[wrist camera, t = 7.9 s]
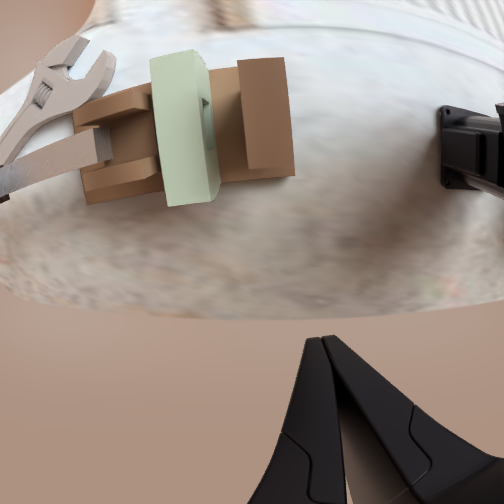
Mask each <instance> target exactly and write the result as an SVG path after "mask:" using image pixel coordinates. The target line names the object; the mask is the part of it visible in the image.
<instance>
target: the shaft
mask: <svg viewBox="0 0 504 504" xmlns="http://www.w3.org/2000/svg"><path fill="white" fill-rule="evenodd" d="M110 159H114V158H113V151H112V145H111V138H110V130H109V127H106V128H92V129H89V130H86V131H83V132H80V133H78V134H75V135H72V136H70V137H67V138H64V139H62V140H59V141H57V142H55V143H52V144H50V145H47V146H45V147H43V148H41V149H38V150H36V151H34V152H32V153H30V154H27V155H25V156H23V157H21V158H19V159H17V160H15V161H13V162H11V163H9V164H8V165H6V166H3V165H0V204H1V203H3V202H5V201H7V200H9V199H10V198H9V193H11V192H14V191H16V190H19V189H21V188H24V187H26V186H29V185H31V184H34V183H37V182H40V181H42V180H45V179H48V178H51V177H54V176H57V175H60V174H63V173H66V172H69V171H72V170H75V169H78V168H82V167H85V166H89V165H92V164H96V163H99V162H103V161H106V160H110Z"/></svg>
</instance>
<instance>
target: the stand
mask: <svg viewBox="0 0 504 504" xmlns="http://www.w3.org/2000/svg"><path fill="white" fill-rule="evenodd" d="M237 65H238V67H230V68H222V69H215V70H208V71H209V80H210V90H211V100H212V109H213V118H214V127H215V136H216V145H217V154H218V162H219V170H220V178H221V183H223V182H232V181H241V180H251V179H262V178H273V177H286V176H295V168H294V153H293V140H292V129H291V118H290V107H289V97H288V88H287V79H286V70H285V62H284V57H280V58H260V59H247V60H237ZM72 114H73V124H74V133H75V134H78V133H80V132H83V131H86V130H89V129H92V128H106V127H109V130H110V138H111V145H112V151H113V158H114V159H110V160H106V161H103V162H99V163H96V164H92V165H89V166H85V167H82V168H80V172H81V177H82V183H83V187H84V192H85V197H86V201H87V205H90V204H94V203H99V202H104V201H109V200H114V199H119V198H124V197H129V196H135V195H140V194H146V193H152V192H158V191H164V190H165V187H164V181H163V175H162V168H161V162H160V155H159V148H158V141H157V133H156V125H155V116H154V107H153V97H152V86H151V82H150V83H146V84H143V85H139V86H135V87H132V88H129V89H125V90H122V91H119V92H116V93H113V94H110V95H107V96H104V97H101V98H98V99H96V100H93V101H90V102H88V103H85V104H83V105H81V106H80V107H79V108H77V109H75V110H72Z"/></svg>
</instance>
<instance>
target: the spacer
mask: <svg viewBox="0 0 504 504" xmlns="http://www.w3.org/2000/svg"><path fill="white" fill-rule="evenodd" d="M150 73H151V86H152V97H153V107H154V116H155V125H156V133H157V141H158V148H159V155H160V162H161V168H162V175H163V181H164V187H165V193H166V199H167V204H168V207H170V206H178V205H185V204H193V203H201V202H210V201H213V200H215V198H216V196H217V194H218V192H219V190H220V188H219V186H220V184H221V178H220V170H219V162H218V154H217V145H216V136H215V127H214V118H213V109H212V100H211V90H210V80H209V71H208V69H207V68H206V63H205V62H204V60H203V59H202V58H201V56H200V55H199V53H198V52H195V51H194V49H193V50H187V51H182V52H178V53H173V54H169V55H164V56H160V57H156V58H152V59H150Z"/></svg>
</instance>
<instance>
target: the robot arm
mask: <svg viewBox="0 0 504 504" xmlns="http://www.w3.org/2000/svg"><path fill="white" fill-rule="evenodd" d="M495 106H496V111H497V113H498V114H499V118H492V117H490V116H486V115H483V114H480V113H476V112H472V111H469V110H465V109H461V108H457V107H452V106H448V105H444V106H442V107H441V109H440V113H441V134H442V165H441V185H442V187H444V188H446V189H464V190H483V191H485V192H487V193H490V194H492V195H494V196H497V197H499V198H501V199H503V200H504V103H500V104H495ZM446 110H447V114H446ZM446 181H448V182H447V184H446ZM345 475H346V479H347V482H348V486H349V490H350V494H351V498H352V501H353V504H504V458H500V457H495V456H492V455H489V454H487V453H485V452H483V451H481V450H480V449H478V448H476V447H475V446H473V445H472V444H470V443H468V442H467V441H465V440H464V439H462V438H460V437H458V436H457V435H456V434H454V433H452V432H451V431H449V430H448V429H446V428H445V427H444V426H442V425H441V424H439V423H438V422H437V421H435V420H434V419H433V418H432V417H430V416H429V415H428V414H427V413H425V412H424V411H423V410H422V409H420V408H419V407H418V406H417V405H414V403H413V402H412V401H411V400H410V399H409V398H407V397H406V396H405V395H404V394H403V393H402V392H400V391H399V390H398V389H397V388H396V387H395V386H393V385H392V384H391V383H390V382H389V381H388V380H386V379H385V378H384V377H383V376H382V375H381V374H380V373H378V372H377V371H376V370H375V369H374V368H372V367H371V366H370V365H369V364H368V363H366V361H364V360H363V359H362V358H361V357H360V356H359V355H358V354H356V353H355V352H354V351H353V350H351V348H349V347H348V346H347V345H346V344H345V343H344V342H343V341H341V340H340V339H339V338H338V337H337V336H335V335H329V336H322V337H321V338H320V337H313V338H307V339H306V341H305V345H304V349H303V354H302V357H301V361H300V365H299V369H298V373H297V377H296V381H295V385H294V388H293V392H292V395H291V399H290V402H289V406H288V409H287V413H286V416H285V419H284V423H283V426H282V429H281V433H280V435H279V438H278V442H277V445H276V447H275V450H274V453H273V455H272V458H271V460H270V463H269V465H268V467H267V469H266V471H265V473H264V475H263V477H262V479H261V481H260V483H259V484H258V486H257V488H256V490H255V491H254V493H253V495H252V496H251V498H250V500H249V501H248V503H247V504H347V493H346V479H345Z"/></svg>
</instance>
